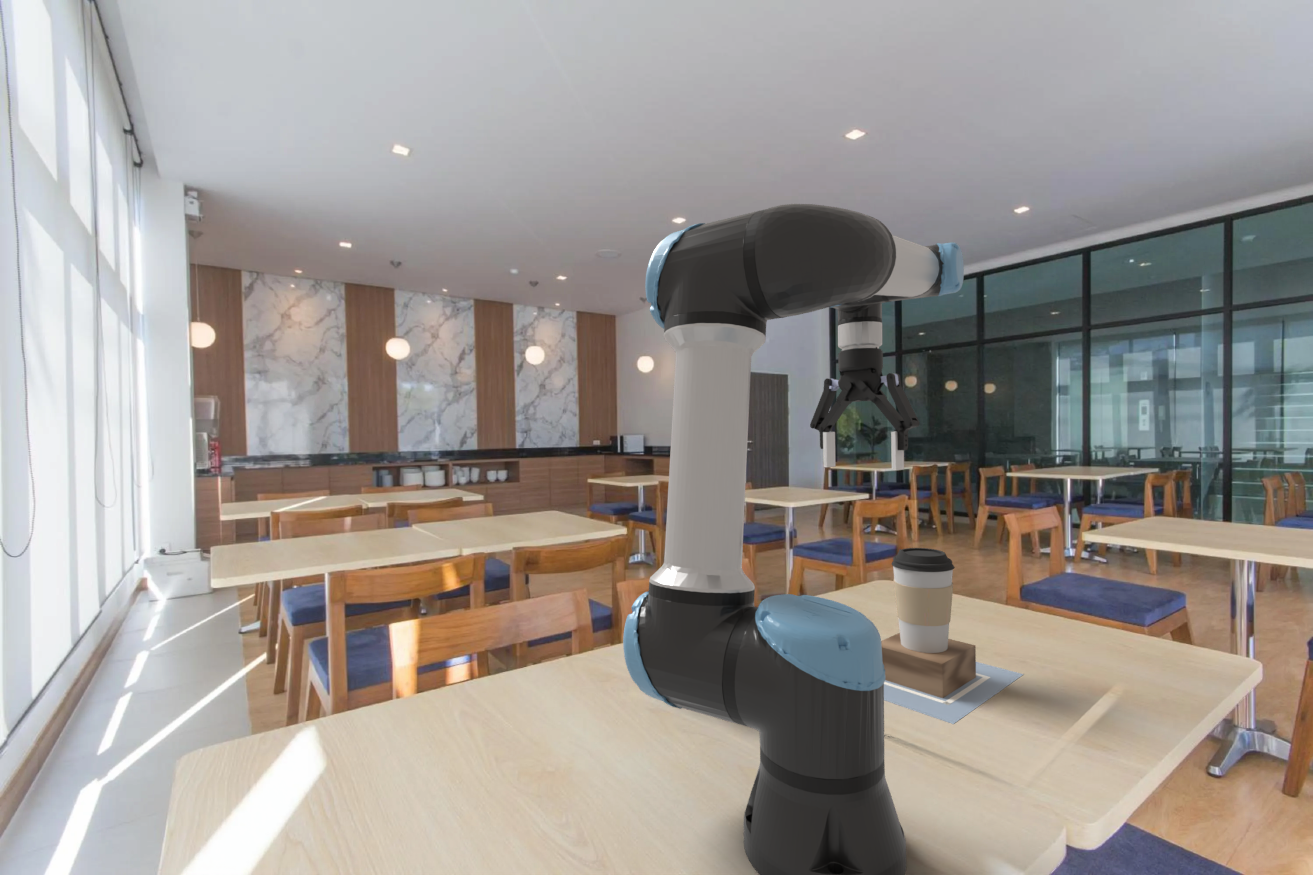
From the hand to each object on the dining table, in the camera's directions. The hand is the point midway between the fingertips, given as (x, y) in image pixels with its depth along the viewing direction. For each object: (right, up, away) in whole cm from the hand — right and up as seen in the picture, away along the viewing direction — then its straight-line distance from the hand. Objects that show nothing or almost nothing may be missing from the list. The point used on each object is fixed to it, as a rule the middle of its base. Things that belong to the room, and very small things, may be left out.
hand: (862, 468), depth 112 cm
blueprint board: (+5, -33, -14) cm, 36 cm away
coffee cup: (+5, -27, -14) cm, 31 cm away
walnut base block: (+5, -32, -14) cm, 35 cm away
